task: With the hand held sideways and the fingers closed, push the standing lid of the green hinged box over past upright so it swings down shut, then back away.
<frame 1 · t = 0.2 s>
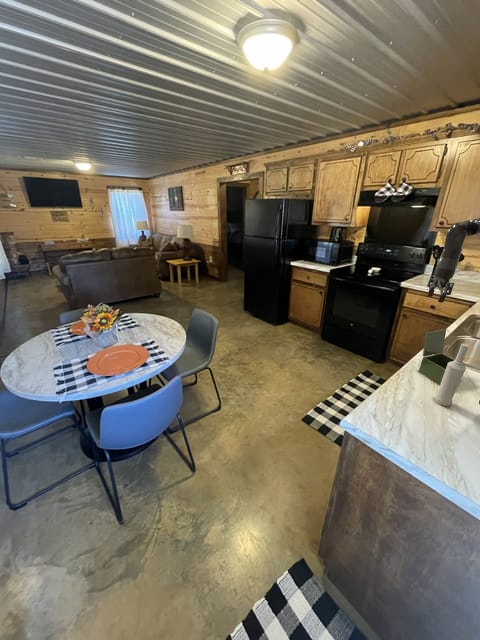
hand: (434, 299, 130), 26 cm above the counter, tool pointing down, fingers open, 8 cm apart
green hinged box: (438, 375, 115), on the counter
lid: (434, 342, 115), point 13 cm above the counter, hinge at 100.0°
bottle: (442, 402, 100), on the counter
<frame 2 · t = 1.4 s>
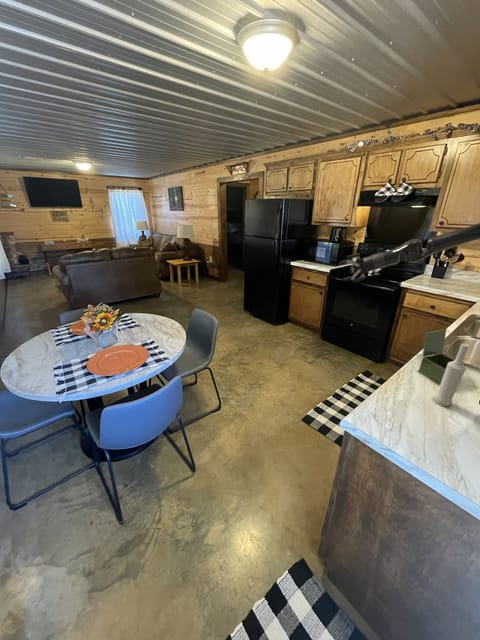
hand: (341, 272, 139), 36 cm above the counter, tool tilted 65°, fingers open, 8 cm apart
nothing on the counter moved.
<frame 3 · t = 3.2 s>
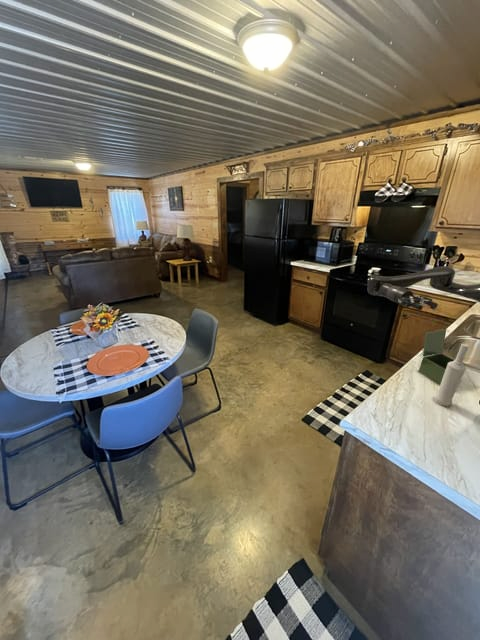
hand: (429, 307, 114), 28 cm above the counter, tool horizontal, fingers open, 8 cm apart
nothing on the counter moved.
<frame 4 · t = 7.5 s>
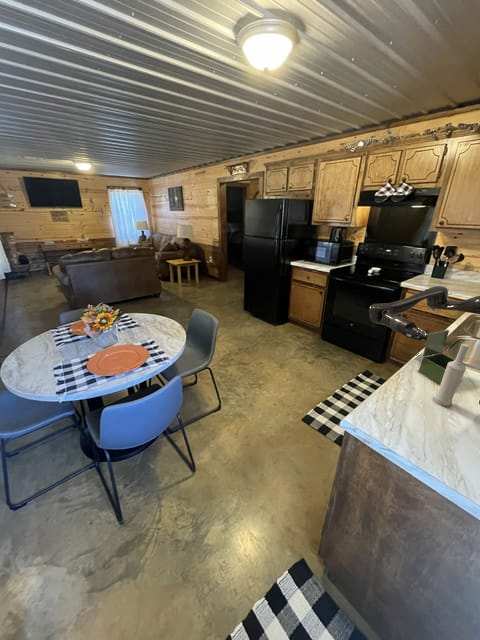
hand: (435, 341, 115), 14 cm above the counter, tool horizontal, fingers closed
lid: (435, 343, 114), point 13 cm above the counter, hinge at 93.4°, touching gripper
everything else where it was.
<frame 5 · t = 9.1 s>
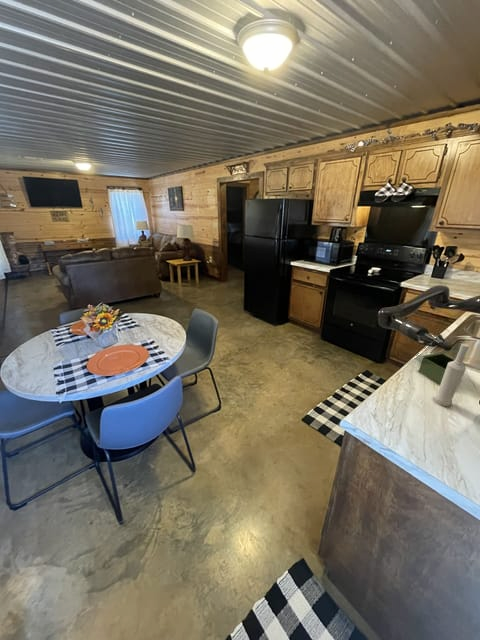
hand: (449, 348, 109), 14 cm above the counter, tool horizontal, fingers closed
lid: (444, 352, 111), point 11 cm above the counter, hinge at 39.7°
everything else where it was.
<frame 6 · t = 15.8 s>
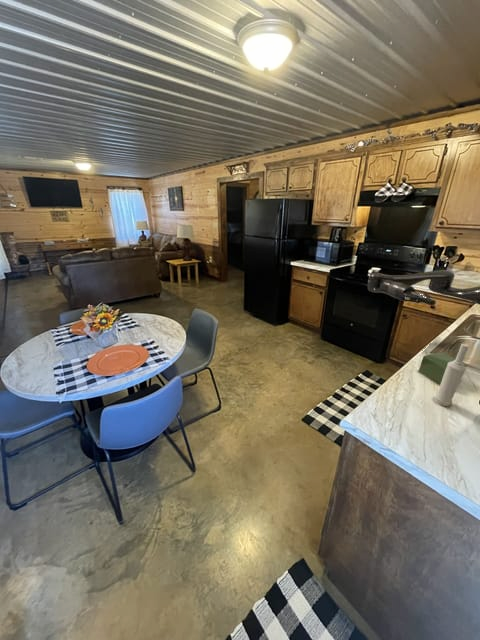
hand: (434, 303, 113), 30 cm above the counter, tool horizontal, fingers closed
lid: (444, 360, 112), point 8 cm above the counter, hinge at -0.3°, touching green hinged box
everything else where it was.
at the end: lid at +0° (first picture: +100°); the gripper is holding nothing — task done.
